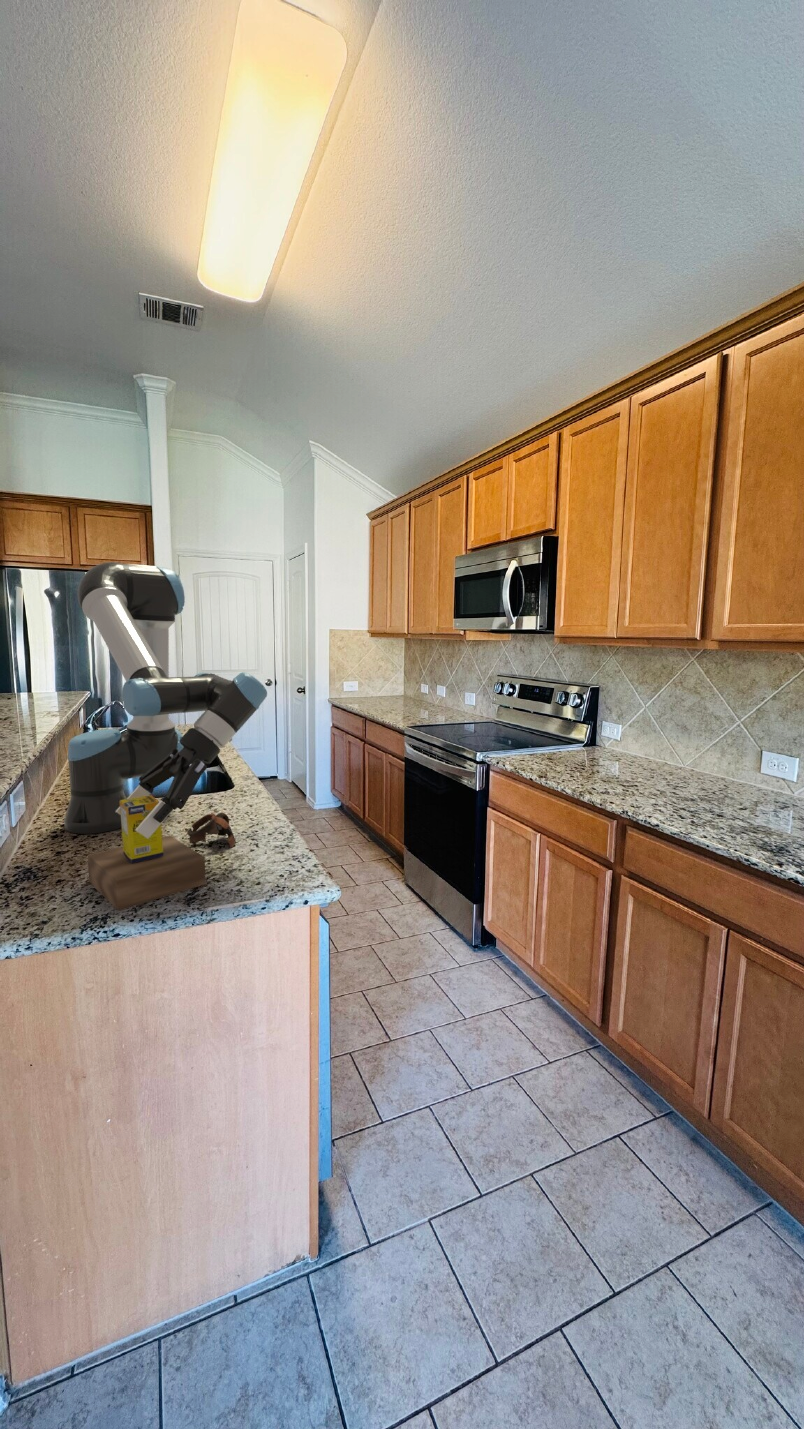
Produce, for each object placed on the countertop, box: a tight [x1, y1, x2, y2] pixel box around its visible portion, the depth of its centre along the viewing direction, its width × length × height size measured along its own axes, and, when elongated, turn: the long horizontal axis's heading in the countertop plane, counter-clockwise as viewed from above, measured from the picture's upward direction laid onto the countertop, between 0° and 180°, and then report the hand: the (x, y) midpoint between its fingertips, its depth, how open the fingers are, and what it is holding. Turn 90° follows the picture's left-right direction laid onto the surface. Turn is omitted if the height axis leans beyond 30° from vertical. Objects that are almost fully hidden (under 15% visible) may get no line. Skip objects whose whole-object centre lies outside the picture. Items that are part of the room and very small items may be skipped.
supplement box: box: [119, 794, 163, 863], centre depth 110 cm, size 6×6×11 cm
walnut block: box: [87, 835, 206, 912], centre depth 111 cm, size 16×16×6 cm
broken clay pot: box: [186, 812, 237, 849], centre depth 132 cm, size 12×10×8 cm
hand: (130, 824), depth 108 cm, fingers open, 13 cm apart
